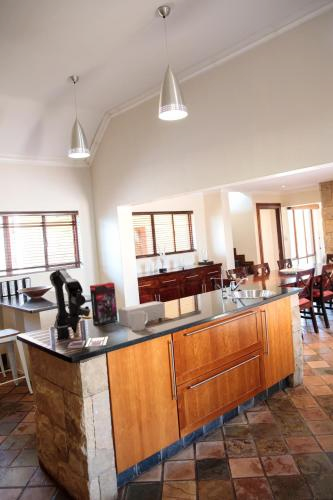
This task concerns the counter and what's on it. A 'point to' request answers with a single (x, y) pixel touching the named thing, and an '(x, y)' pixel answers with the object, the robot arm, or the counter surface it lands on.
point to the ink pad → (76, 344)
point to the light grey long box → (152, 308)
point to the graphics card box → (103, 303)
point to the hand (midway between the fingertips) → (75, 331)
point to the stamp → (76, 334)
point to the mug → (138, 320)
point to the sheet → (96, 341)
